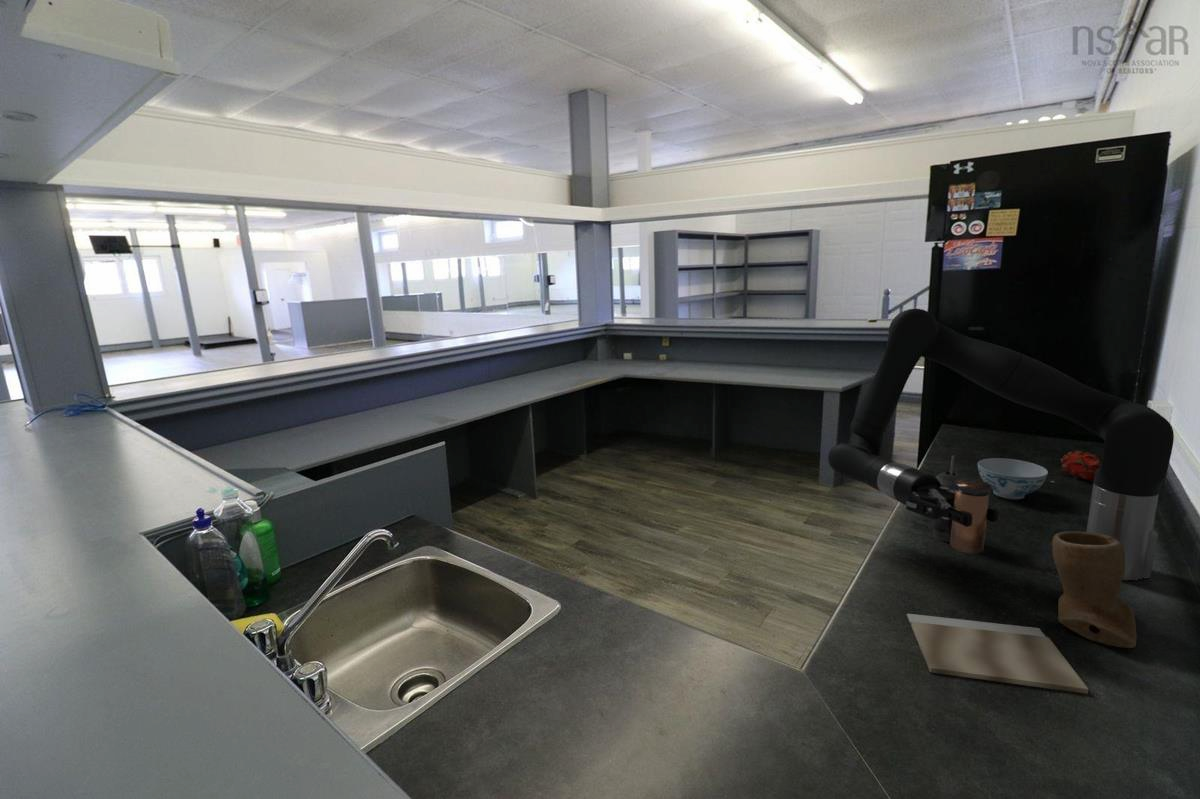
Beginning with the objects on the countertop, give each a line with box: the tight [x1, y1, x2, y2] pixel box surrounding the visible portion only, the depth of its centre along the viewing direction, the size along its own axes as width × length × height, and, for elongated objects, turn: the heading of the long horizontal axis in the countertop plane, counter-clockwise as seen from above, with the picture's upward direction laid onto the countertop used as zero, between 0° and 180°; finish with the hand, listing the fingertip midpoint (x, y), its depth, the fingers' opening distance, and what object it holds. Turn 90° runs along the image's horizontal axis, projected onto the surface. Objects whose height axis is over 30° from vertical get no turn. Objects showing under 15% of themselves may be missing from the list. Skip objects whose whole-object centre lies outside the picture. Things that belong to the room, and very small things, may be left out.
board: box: [910, 622, 1089, 695], centre depth 88 cm, size 20×12×1 cm, turn 74°
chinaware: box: [977, 457, 1049, 500], centre depth 147 cm, size 15×15×8 cm
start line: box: [906, 613, 1046, 637], centre depth 95 cm, size 20×2×1 cm, turn 74°
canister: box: [949, 477, 992, 554], centre depth 98 cm, size 5×5×12 cm
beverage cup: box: [932, 455, 963, 543], centre depth 125 cm, size 7×7×20 cm
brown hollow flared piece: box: [1051, 530, 1137, 649], centre depth 94 cm, size 15×12×15 cm
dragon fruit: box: [1060, 450, 1102, 483], centre depth 156 cm, size 8×8×12 cm
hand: (983, 518), depth 96 cm, fingers closed on canister, 5 cm apart
